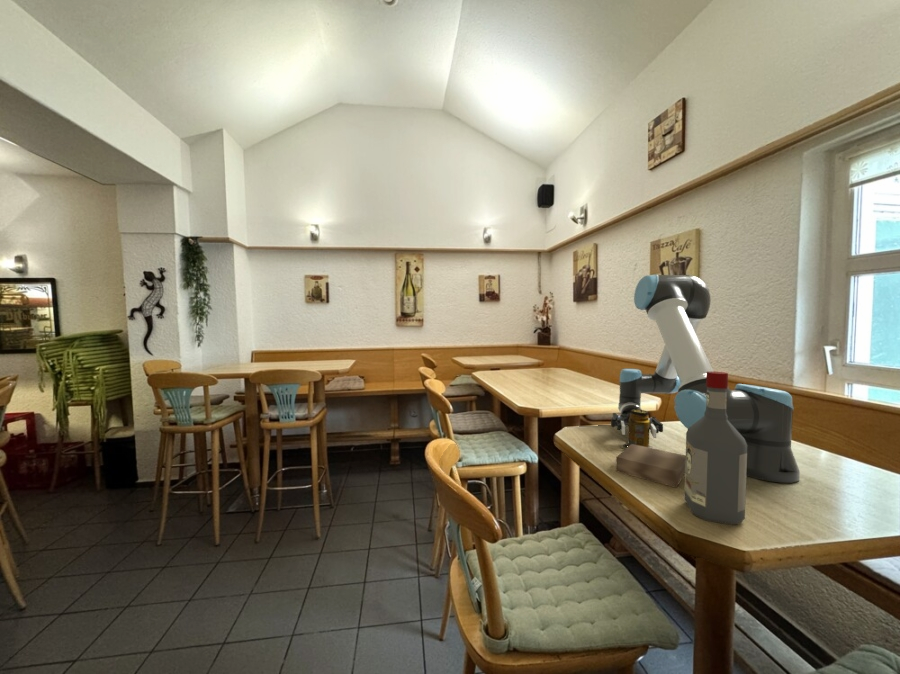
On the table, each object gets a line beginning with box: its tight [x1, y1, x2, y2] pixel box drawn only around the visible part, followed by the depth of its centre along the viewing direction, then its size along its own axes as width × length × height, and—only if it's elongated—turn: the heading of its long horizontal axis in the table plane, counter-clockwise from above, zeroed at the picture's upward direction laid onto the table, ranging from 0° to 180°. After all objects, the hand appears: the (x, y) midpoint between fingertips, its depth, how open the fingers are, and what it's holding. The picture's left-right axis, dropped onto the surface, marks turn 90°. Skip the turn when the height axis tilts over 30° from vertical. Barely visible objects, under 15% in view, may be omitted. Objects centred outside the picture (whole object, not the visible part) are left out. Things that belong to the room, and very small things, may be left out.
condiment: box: [620, 409, 654, 450], centre depth 114 cm, size 7×8×12 cm
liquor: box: [684, 371, 747, 526], centre depth 74 cm, size 9×9×30 cm
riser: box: [615, 444, 686, 488], centre depth 96 cm, size 14×14×4 cm
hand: (639, 431), depth 109 cm, fingers open, 8 cm apart
